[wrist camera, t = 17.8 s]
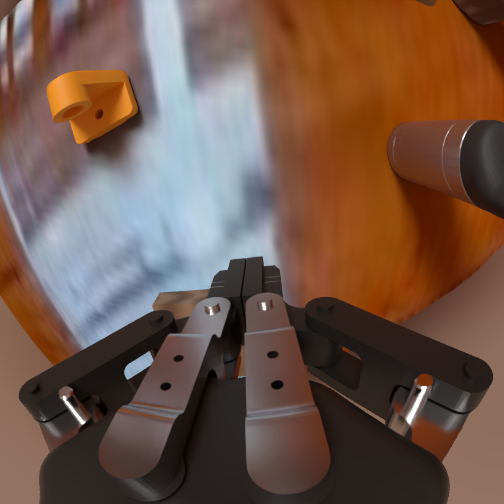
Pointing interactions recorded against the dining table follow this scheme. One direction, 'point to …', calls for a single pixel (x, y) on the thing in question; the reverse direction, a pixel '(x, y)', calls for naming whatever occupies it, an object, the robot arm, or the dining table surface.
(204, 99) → the dining table surface
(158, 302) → the board
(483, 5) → the plant pot
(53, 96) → the bracket
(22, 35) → the dining table surface
